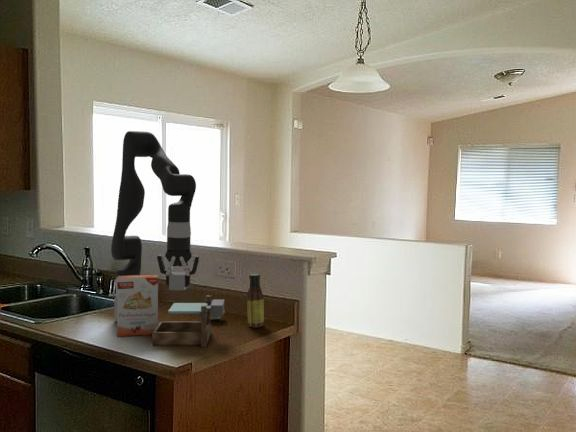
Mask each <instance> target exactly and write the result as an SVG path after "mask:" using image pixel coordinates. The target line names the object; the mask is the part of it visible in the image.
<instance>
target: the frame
mask: <svg viewBox="0 0 576 432" xmlns="http://www.w3.org/2000/svg"><path fill="white" fill-rule="evenodd" d="M212 301H213V299H212V295H211V294H210V295H205V300H204V303H208V306H211V304H212ZM199 318H200V321H160V322H158V326H157V327H156V328H155V330H154V331H153V333H152V336H151V338H152V339H151V341H152V345H151V346H152V347H157V346H162V347H164V346H167V347H170V346H173V347H174V346H176V347H177V346H181V347H182V346H185V347H186V345H190V346H191V345H200V347H201V348H207V347H208V343H209V340H210V337H211V335H212V333H211V332H212V331H211V330H212V322H211V321H212V319H211V311H207V310H206V305H202V306H201V311H200V314H199Z"/></svg>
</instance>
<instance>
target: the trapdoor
mask: <svg viewBox="0 0 576 432" xmlns="http://www.w3.org/2000/svg"><path fill="white" fill-rule="evenodd" d="M202 305H206V310H207V311H211V317H221V318H223V317H224V314H225V312H224V309H225V299H212V304H211V306H208V303H205V302H173V304H172V305H171V306H170V308H169V309H168V310H167V314H169V315H170V314H172V315H173V314H175V315H176V314H178V315H179V314H181V315H182V314H184V315H185V314H186V315H187V314H190V315H191V314H192V315H193V314H194V315H195V314H199V315H200V311H201V306H202Z"/></svg>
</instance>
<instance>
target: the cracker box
mask: <svg viewBox="0 0 576 432" xmlns="http://www.w3.org/2000/svg"><path fill="white" fill-rule="evenodd" d="M158 316H159V277H158V274H144V275H142V274H140V275H134V276H118V279H117V322H116V323H117V325H116V327H117V329H116V336H117V338H118V337H132V336H133V337H134V336H151V335H152V333H153V331H154V330H155V328H156V327H157V326H158V324H159V320H158V319H159V317H158Z"/></svg>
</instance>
